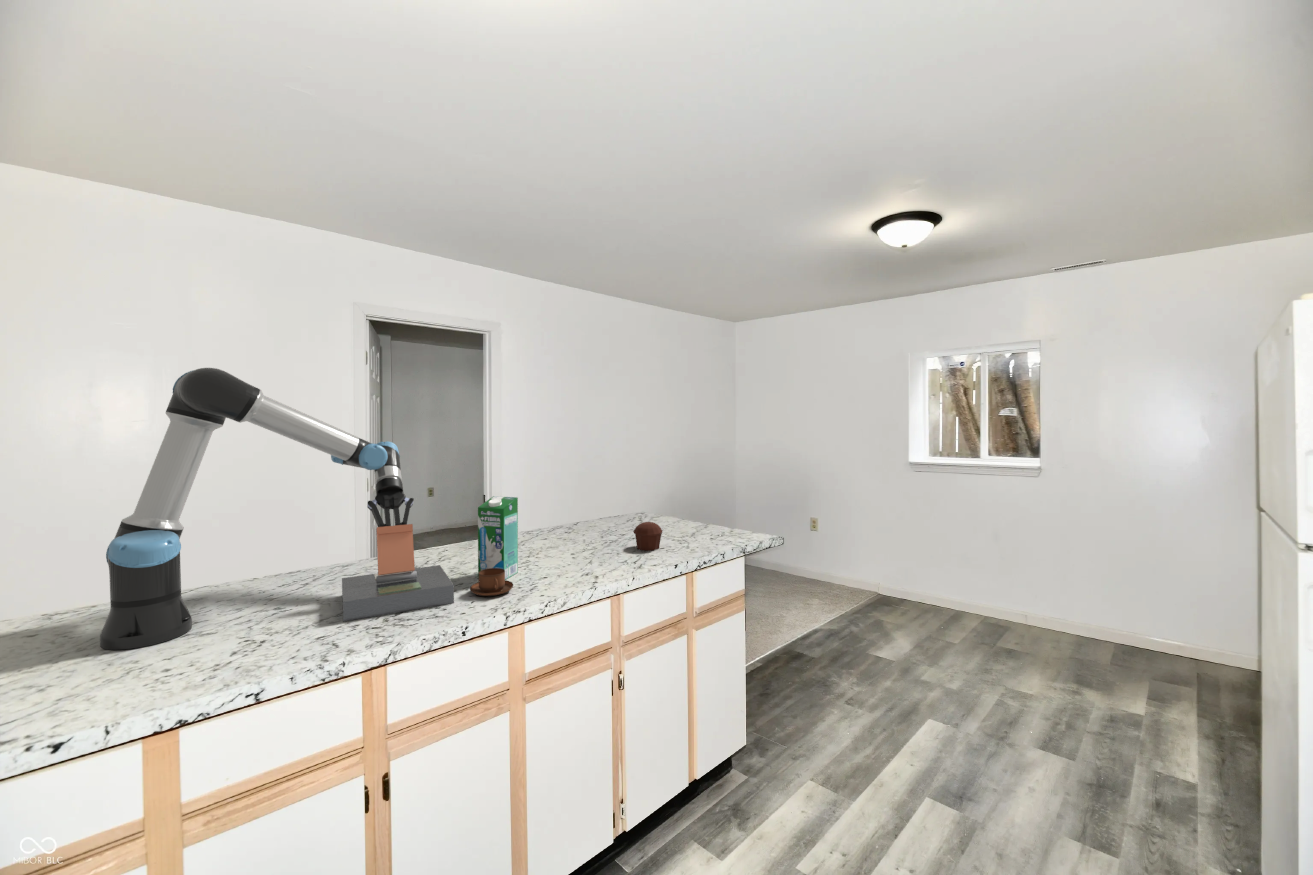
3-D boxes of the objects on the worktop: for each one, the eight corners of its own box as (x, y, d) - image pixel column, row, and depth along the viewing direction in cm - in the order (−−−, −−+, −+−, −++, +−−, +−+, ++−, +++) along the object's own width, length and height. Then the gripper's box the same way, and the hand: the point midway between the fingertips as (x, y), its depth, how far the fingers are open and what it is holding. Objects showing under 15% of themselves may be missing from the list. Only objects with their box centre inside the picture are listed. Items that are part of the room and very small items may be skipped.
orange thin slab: (376, 584, 144) (374, 529, 147) (415, 578, 149) (413, 525, 153) (377, 583, 141) (375, 527, 145) (417, 577, 146) (414, 523, 150)
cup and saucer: (521, 591, 153) (521, 571, 153) (485, 602, 144) (485, 580, 144) (497, 583, 161) (497, 563, 160) (461, 593, 151) (461, 572, 151)
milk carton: (477, 578, 164) (477, 499, 163) (493, 570, 173) (493, 495, 172) (503, 580, 162) (503, 501, 161) (518, 572, 171) (517, 496, 170)
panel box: (342, 595, 148) (341, 577, 148) (439, 580, 162) (439, 564, 161) (343, 621, 129) (343, 600, 129) (453, 602, 143) (453, 583, 143)
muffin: (650, 542, 213) (650, 518, 213) (668, 548, 205) (668, 523, 204) (627, 547, 205) (627, 522, 205) (644, 553, 197) (645, 527, 197)
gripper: (410, 489, 170) (418, 551, 157) (365, 492, 163) (369, 557, 150) (412, 475, 165) (420, 537, 152) (365, 477, 158) (370, 543, 145)
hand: (395, 547), depth 151 cm, fingers closed
